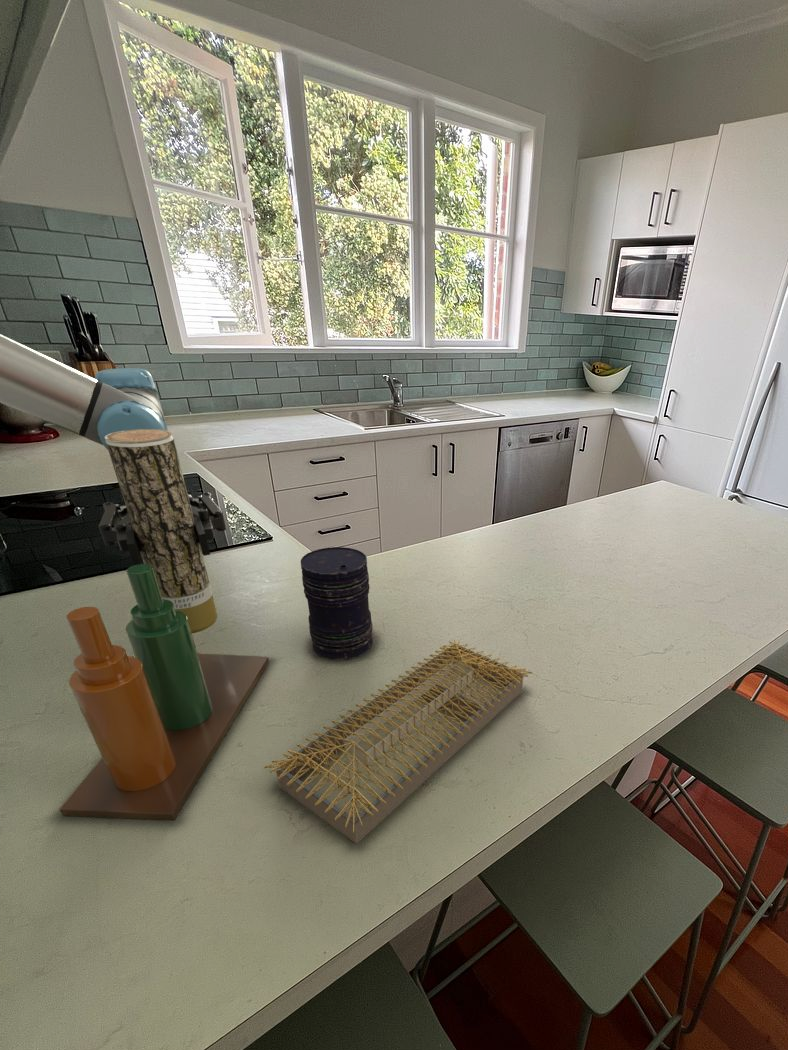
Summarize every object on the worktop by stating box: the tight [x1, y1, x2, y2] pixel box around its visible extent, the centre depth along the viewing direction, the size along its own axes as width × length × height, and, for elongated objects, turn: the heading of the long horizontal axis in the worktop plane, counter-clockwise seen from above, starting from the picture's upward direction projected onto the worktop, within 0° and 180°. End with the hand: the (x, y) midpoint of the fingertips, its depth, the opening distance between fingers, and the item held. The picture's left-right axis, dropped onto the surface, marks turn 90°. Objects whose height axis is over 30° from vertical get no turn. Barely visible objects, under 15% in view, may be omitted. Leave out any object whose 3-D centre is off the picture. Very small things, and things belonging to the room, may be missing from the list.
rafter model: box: [263, 638, 533, 844], centre depth 70 cm, size 35×14×6 cm, turn 145°
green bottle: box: [125, 563, 213, 730], centre depth 66 cm, size 6×6×21 cm
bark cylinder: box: [105, 429, 218, 634], centre depth 68 cm, size 7×7×25 cm
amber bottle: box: [65, 606, 176, 791], centre depth 57 cm, size 6×6×21 cm
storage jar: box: [300, 546, 374, 661], centre depth 85 cm, size 10×10×15 cm
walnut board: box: [59, 652, 270, 821], centre depth 71 cm, size 12×30×1 cm, turn 179°
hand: (170, 549), depth 65 cm, fingers closed on bark cylinder, 7 cm apart
